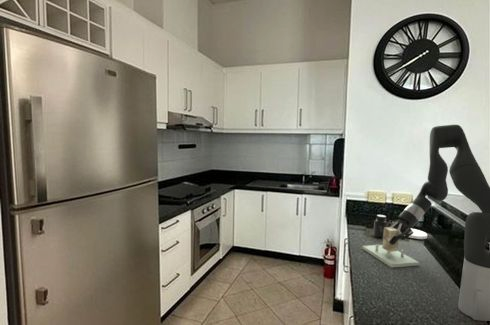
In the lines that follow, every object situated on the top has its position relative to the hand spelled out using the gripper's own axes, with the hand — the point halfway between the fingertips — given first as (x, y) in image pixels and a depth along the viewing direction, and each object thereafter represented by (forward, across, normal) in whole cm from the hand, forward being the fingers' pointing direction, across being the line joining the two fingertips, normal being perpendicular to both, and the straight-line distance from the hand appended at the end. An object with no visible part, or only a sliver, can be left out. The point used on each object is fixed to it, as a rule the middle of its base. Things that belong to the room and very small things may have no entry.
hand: (386, 241), depth 134 cm
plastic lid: (-20, -23, +32) cm, 45 cm away
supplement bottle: (-6, -24, +17) cm, 30 cm away
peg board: (+4, 0, +7) cm, 8 cm away
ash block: (+2, 0, +4) cm, 5 cm away
